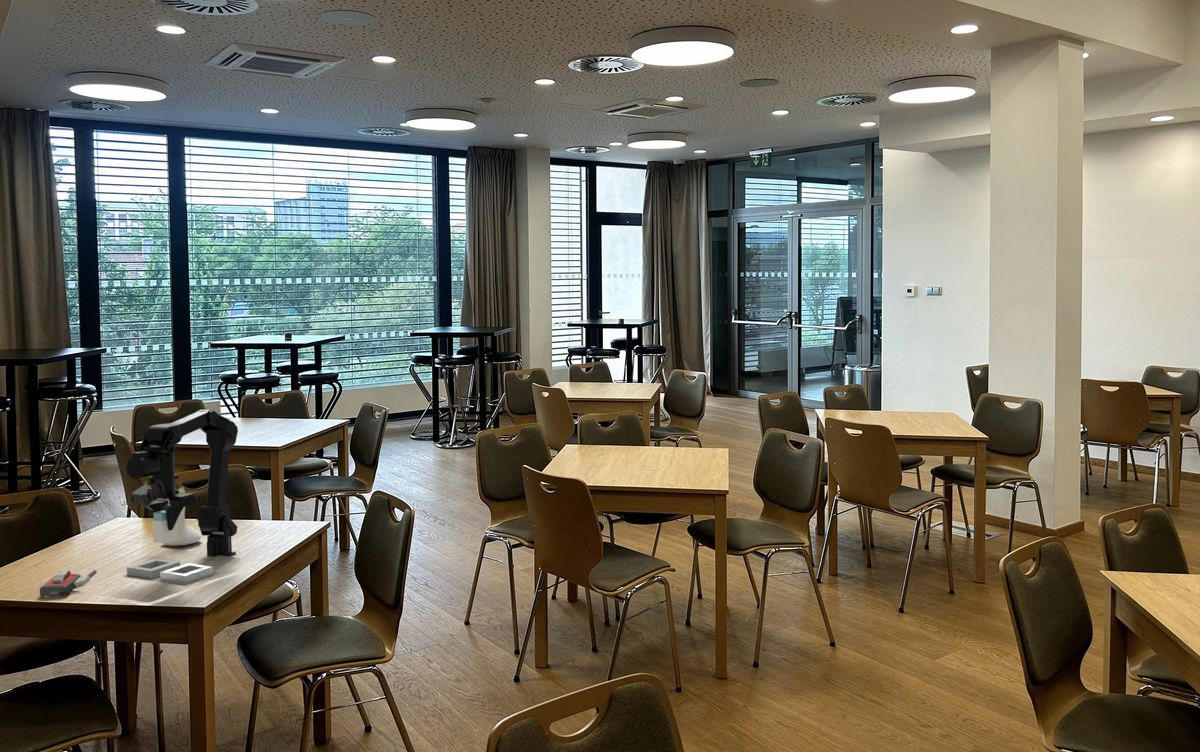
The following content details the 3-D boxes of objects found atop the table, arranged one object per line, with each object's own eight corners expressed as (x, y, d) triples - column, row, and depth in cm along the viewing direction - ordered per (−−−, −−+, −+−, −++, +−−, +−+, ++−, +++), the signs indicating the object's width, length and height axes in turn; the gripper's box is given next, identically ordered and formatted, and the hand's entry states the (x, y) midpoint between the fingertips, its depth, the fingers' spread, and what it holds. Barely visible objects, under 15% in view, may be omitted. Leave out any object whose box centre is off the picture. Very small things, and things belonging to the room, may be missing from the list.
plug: (153, 542, 262) (152, 512, 261) (168, 537, 267) (167, 508, 266) (162, 543, 261) (161, 513, 260) (177, 539, 265) (176, 510, 265)
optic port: (160, 579, 259) (159, 572, 259) (188, 570, 268) (187, 563, 268) (185, 583, 256) (185, 575, 256) (213, 573, 264) (213, 566, 264)
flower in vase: (183, 537, 307) (180, 459, 305) (209, 541, 302) (207, 461, 300) (148, 547, 295) (144, 465, 293) (175, 551, 290) (172, 468, 288)
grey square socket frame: (127, 574, 264) (126, 567, 264) (155, 565, 273) (155, 558, 272) (151, 578, 260) (151, 571, 260) (179, 569, 269) (179, 562, 269)
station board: (122, 578, 263) (121, 575, 263) (158, 567, 274) (157, 564, 274) (183, 588, 254) (183, 585, 254) (218, 575, 265) (218, 572, 265)
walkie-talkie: (74, 598, 247) (99, 576, 267) (73, 581, 247) (98, 560, 266) (36, 600, 246) (64, 577, 265) (35, 583, 245) (63, 561, 265)
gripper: (112, 474, 259) (115, 532, 260) (163, 480, 251) (165, 539, 252) (147, 467, 269) (150, 523, 270) (197, 473, 261) (199, 530, 262)
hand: (165, 529), depth 263 cm, fingers closed on plug, 3 cm apart
